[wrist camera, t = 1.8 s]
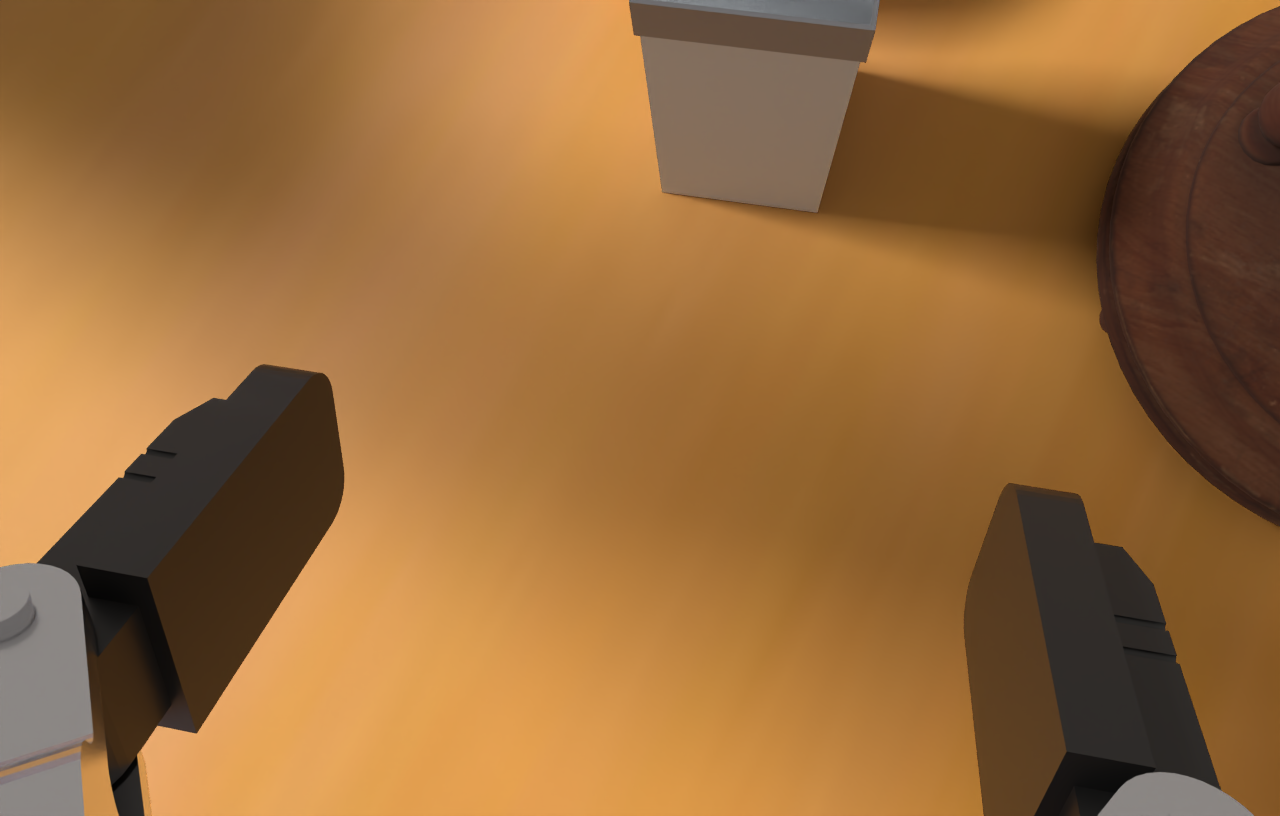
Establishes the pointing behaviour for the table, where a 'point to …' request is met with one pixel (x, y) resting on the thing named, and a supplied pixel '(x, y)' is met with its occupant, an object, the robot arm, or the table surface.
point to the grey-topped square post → (751, 93)
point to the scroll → (1204, 263)
